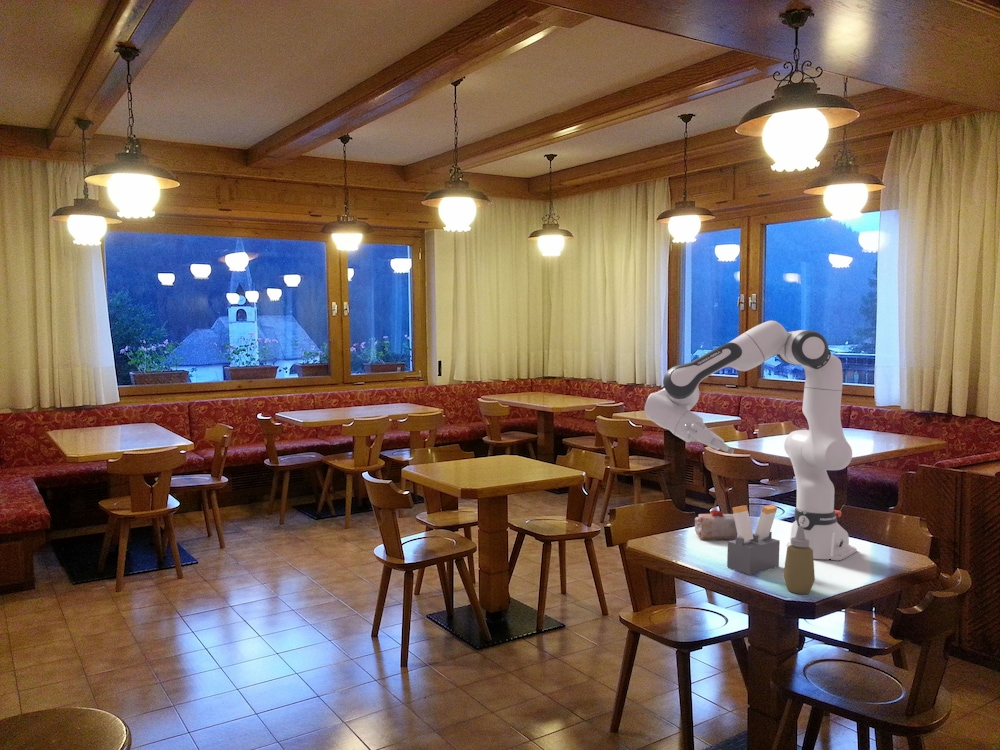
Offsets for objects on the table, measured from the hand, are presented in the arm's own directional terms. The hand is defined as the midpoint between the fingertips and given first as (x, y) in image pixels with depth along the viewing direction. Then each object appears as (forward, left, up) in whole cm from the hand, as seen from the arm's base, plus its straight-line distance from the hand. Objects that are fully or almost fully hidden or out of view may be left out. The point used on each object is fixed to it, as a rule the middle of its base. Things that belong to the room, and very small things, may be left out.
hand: (730, 450), depth 230 cm
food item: (-20, -21, -35) cm, 46 cm away
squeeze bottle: (+3, +26, -35) cm, 44 cm away
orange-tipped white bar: (-8, +6, -26) cm, 28 cm away
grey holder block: (-4, +6, -35) cm, 36 cm away
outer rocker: (-1, +6, -26) cm, 27 cm away
